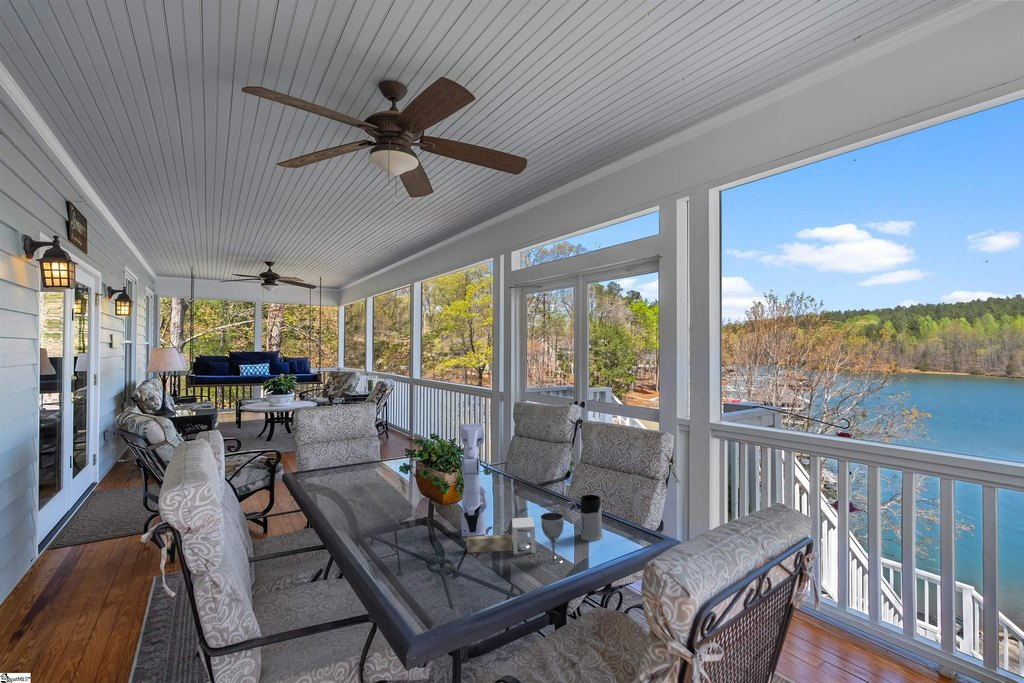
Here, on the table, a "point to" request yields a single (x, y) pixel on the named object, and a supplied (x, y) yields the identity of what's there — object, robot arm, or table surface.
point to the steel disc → (524, 547)
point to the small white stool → (523, 531)
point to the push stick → (489, 543)
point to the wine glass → (552, 533)
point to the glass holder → (590, 517)
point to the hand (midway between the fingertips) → (473, 528)
